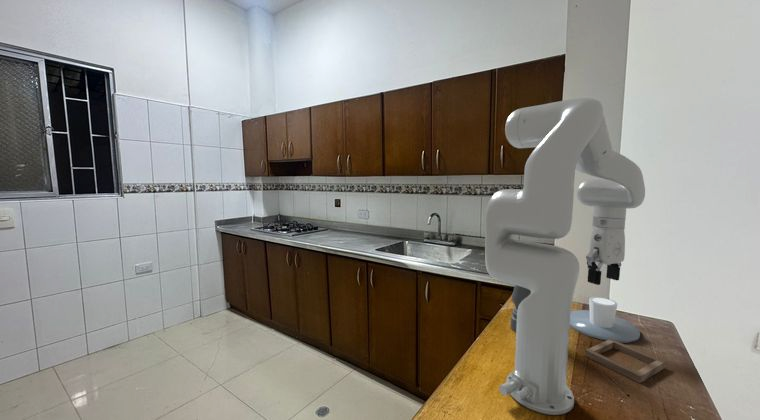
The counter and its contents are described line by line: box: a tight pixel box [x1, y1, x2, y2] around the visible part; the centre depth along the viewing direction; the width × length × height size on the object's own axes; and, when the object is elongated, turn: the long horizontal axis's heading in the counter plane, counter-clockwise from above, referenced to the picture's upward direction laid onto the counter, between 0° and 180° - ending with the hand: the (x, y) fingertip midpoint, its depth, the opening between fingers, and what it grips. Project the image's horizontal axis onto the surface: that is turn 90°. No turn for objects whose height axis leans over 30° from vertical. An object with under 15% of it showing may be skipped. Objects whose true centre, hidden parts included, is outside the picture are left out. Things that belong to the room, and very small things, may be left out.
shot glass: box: [588, 296, 618, 328], centre depth 92 cm, size 7×7×7 cm
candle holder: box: [510, 285, 531, 333], centre depth 90 cm, size 6×6×25 cm
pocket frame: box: [584, 339, 666, 384], centre depth 75 cm, size 12×12×2 cm
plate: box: [570, 309, 641, 344], centre depth 92 cm, size 18×18×1 cm
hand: (603, 281), depth 90 cm, fingers open, 9 cm apart
